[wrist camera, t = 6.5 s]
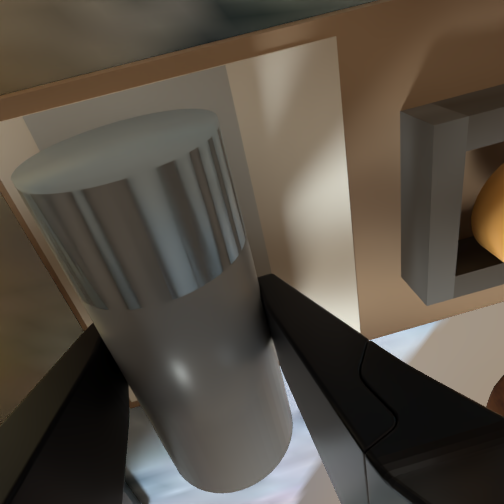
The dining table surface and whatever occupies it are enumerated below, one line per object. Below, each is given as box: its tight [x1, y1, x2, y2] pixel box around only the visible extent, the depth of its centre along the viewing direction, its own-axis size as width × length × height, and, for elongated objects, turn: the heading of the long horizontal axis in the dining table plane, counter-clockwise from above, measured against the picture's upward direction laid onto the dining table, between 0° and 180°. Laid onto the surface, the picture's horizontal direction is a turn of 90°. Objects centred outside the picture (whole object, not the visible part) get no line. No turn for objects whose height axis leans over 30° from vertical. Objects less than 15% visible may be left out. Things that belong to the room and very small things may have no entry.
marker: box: [11, 109, 293, 493], centre depth 9 cm, size 9×3×3 cm, turn 12°
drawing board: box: [0, 0, 504, 409], centre depth 11 cm, size 10×15×2 cm, turn 102°
